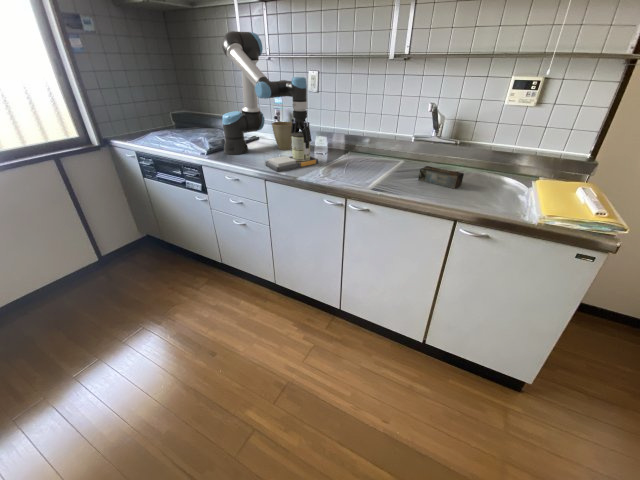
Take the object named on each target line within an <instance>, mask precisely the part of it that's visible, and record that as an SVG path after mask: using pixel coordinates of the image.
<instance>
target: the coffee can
mask: <svg viewBox="0 0 640 480" xmlns="http://www.w3.org/2000/svg"><path fill="white" fill-rule="evenodd" d="M291 135H292V144H291V148H292V149H291V151H292V152H291V153H292V156H293V159H294V160H296V161H307V160H309V159H310V156H311V142H309V154H306V155H304V142H305V141H304V135H303V134H302V131H301V130H299V132H296V133H295V132H293V133H291Z"/></svg>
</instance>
